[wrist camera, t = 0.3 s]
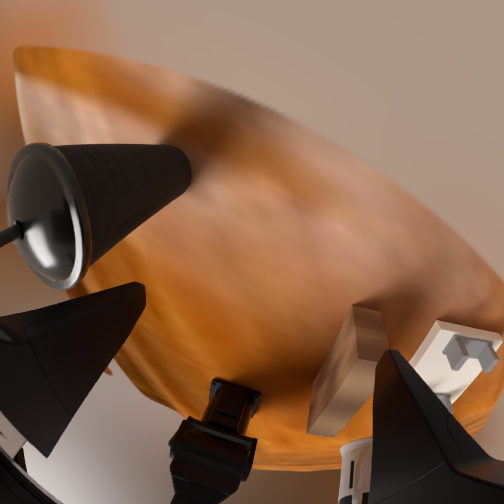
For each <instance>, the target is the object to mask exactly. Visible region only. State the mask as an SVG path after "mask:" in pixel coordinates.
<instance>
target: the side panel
mask: <svg viewBox="0 0 504 504" xmlns="http://www.w3.org/2000/svg"><path fill="white" fill-rule="evenodd" d="M502 342H503V340H502V338H501V336H500V335H499V333H496V332H491V331H486V330H481V329H476V328H471V327H467V326H462V325H457V324H453V323H448V322H443V321H439V320H436V321H435V323H434V325H433V326H432V328H431V329H430V331H429V333H428V334H427V336H426V337H425V339H424V341H423V342H422V344H421V345H420V347H419V348H418V350H417V351H416V353H415V354H414V356H413V357H412V358H411V360H410V361H409V364H410V365H411V366H412V367H413V368H414V369H415V371H416V372H417V373H418V374H419V375H420V376H421V378H422V379H423V380H424V381H425V382H426V383H427V385H428V386H429V387H430V388H431V389H432V391H433V392H434V393H435V394H436V395H437V397H438V398H439V399H440V400H441V401H442V403H443V404H444V405H445V406H446V407H447V409H448V410H449V412H451V414H452V413H453V408H452V404H453V402H454V401H455V400H456V399H457V398H458V397H459V396H460V395H461V394H462V393H463V392H464V391H465V389H466V388H467V387H468V386H469V385H470V384H471V383H472V381H473V380H474V379H475V378H476V377H477V375H478V374H479V373H480V372H481V370H482V369H483V372H484V373H490V371H491V370H492V369H493V368H494V366H495V365H496V364H497V362H498V361H499V360H500V359H499V357H498V356H497V354H496V351H497V349H498V348H499V346H500V345H501V343H502Z"/></svg>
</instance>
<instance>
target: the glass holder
mask: <svg viewBox="0 0 504 504" xmlns="http://www.w3.org/2000/svg"><path fill="white" fill-rule="evenodd" d="M372 442H373V437H370V438H363V439H358V440H355V441H352V442H349V443H347V444H345V445H344V446H343V447H341V449H340V453H341V455H342V469H341V481H340V491H339V499H338V504H368V500H369V491H370V479H371V465H372Z"/></svg>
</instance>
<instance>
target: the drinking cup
mask: <svg viewBox="0 0 504 504" xmlns="http://www.w3.org/2000/svg"><path fill="white" fill-rule="evenodd" d="M190 178H191V168H190V164H189V161H188V159H187V157H186V156H185V154H184V153H183V152H182V151H181V150H179V149H178V148H176V147H174V146H169V145H150V144H82V145H63V146H52V145H50V144H47V143H43V142H36V143H31V144H28V145H26V146H25V147H23V148H22V149H21V150H20V151H19V152H18V153H17V155H16V156H15V158H14V160H13V162H12V164H11V167H10V170H9V174H8V180H7V189H6V205H7V206H6V207H7V208H6V209H7V219H8V224H9V227H8V228H6V229H5V230H2V231H1V232H0V248H1V247H3V246H5V245H7V244H9V243H10V242H12V241H14V243H15V245H16V247H17V249H18V251H19V253H20V255H21V256H22V257H23V259H24V260H25V262H26V263H27V264H28V266H29V267H30V269H31V270H32V271H33V272H34V273H35V275H36V276H37V277H38V278H40V279H41V280H42V281H43V282H44V283H46V284H47V285H49V286H50V287H52V288H55V289H58V290H68V289H71V288H73V287H74V286H76V285H77V284H79V283H80V282H81V281H82V279H83V278H84V277H85V275H86V273H87V271H88V268H89V267H90V266H91V265H92V264H94V263H95V262H96V261H97V260H98V259H99V258H100V257H102V256H103V255H104V254H105V253H106V252H108V251H109V250H110V249H111V248H112V247H114V246H115V245H116V244H117V243H118V242H120V241H121V240H122V239H123V238H125V237H126V236H127V235H128V234H130V233H131V232H132V231H133V230H135V229H136V228H137V227H138V226H140V225H141V224H142V223H144V222H145V221H146V220H148V219H149V218H150V217H151V216H153V215H154V214H155V213H157V212H158V211H159V210H161V209H162V208H164V207H165V206H166V205H168V204H169V203H170V202H172V201H173V200H175V199H176V198H177V197H179V196H180V195H181V194H183V193H184V191H185V190H186V189H187V187H188V185H189V182H190Z"/></svg>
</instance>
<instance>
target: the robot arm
mask: <svg viewBox="0 0 504 504" xmlns="http://www.w3.org/2000/svg"><path fill="white" fill-rule="evenodd" d="M145 306H146V290H145V286H144V284H141V283H139V282H131V283H127V284H124V285H120V286H117V287H113V288H110V289H106V290H103V291H99V292H96V293H92V294H89V295H85V296H82V297H78V298H75V299H71V300H68V301H64V302H61V303H58V304H57V305H56V304H54V305H50V306H47V307H43V308H40V309H36V310H31V311H27V312H22V313H17V314H12V315H7V316H2V317H0V504H63V503H62V502H60V501H59V500H58V499H56V498H55V497H54V496H53V495H51V494H50V493H49V492H48V491H46V490H45V489H44V488H43V487H42V486H40V485H39V484H38V483H37V482H36V481H35V480H34V479H33V478H31V477H30V476H29V475H28V474H27V469H26V464H25V458H24V452H23V448H22V446H23V445H24V444H25V442H26V441H28V442H29V443H30V444H31V445H32V446H33V447H34V448H35V449H36V450H38V451H39V452H40V453H41V454H42V455H43V456H45V457H46V458H47V457H48V456H49V455H50V453H51V452H52V450H53V448H54V447H55V445H56V443H57V442H58V440H59V439H60V437H61V435H62V434H63V432H64V431H65V429H66V428H67V426H68V424H69V423H70V421H71V420H72V418H73V416H74V415H75V413H76V412H77V410H78V409H79V407H80V406H81V404H82V403H83V401H84V399H85V398H86V397H87V395H88V394H89V392H90V391H91V389H92V388H93V386H94V385H95V383H96V382H97V380H98V379H99V377H100V376H101V375H102V373H103V372H104V370H105V369H106V367H107V366H108V365H109V363H110V362H111V360H112V359H113V358H114V356H115V355H116V353H117V352H118V351H119V349H120V348H121V346H122V345H123V344H124V342H125V341H126V339H127V338H128V336H129V335H130V333H131V331H132V329H133V328H134V326H135V324H136V322H137V321H138V319H139V317H140V316H141V314H142V312H143V310H144V309H145ZM260 398H261V393H259V392H256V391H252V390H249V389H245V388H242V387H238V386H235V385H232V384H228V383H225V382H222V381H219V380H216V379H213V380H212V382H211V387H210V395H209V403H208V406H207V408H206V410H205V412H204V415H203V417H202V419H201V421H199V420H197V419H194V418H193V417H191V416H189V417H188V418H187V420H183V421H182V423H181V425H180V427H179V429H178V431H177V432H176V433H175V435H174V436H173V437H172V438H171V440H170V441H169V444H168V445H169V447H170V456H169V457H170V458H172V459H173V460H172V462H171V464H170V472H171V477H172V482H173V486H174V492H175V495H174V497H173V499H172V501H171V504H219V503H221V502H222V501H224V500H225V499H226V498H228V497H229V496H230V495H232V494H233V493H234V492H236V491H237V489H238V487H239V484H240V482H242V483H244V482H245V481H246V480H247V478H248V476H249V473H250V470H251V468H252V464H253V460H254V455H255V450H256V445H257V440H258V439H256V438H250V437H247V436H245V434H246V431H247V428H248V425H249V421H250V418H253V416H254V413H255V411H256V408H257V406H258V403H259V401H260ZM368 504H504V461H501V460H497V459H494V458H492V457H491V456H489V455H488V454H487V453H486V452H485V451H484V450H483V449H482V448H481V446H480V445H479V444H478V443H477V442H476V441H475V440H474V439H473V438H472V437H471V436H470V435H469V434H468V432H467V431H466V430H465V429H464V428H463V427H462V426H461V425H460V423H459V422H458V421H457V420H456V419H455V417H454V416H453V415H452V414H451V412H449V410H448V409H447V407H446V406H445V405H444V404H443V403H442V401H441V400H440V399H439V398H438V397H437V395H436V394H435V393H434V392H433V391H432V389H431V388H430V387H429V386H428V385H427V383H426V382H425V381H424V380H423V379H422V378H421V376H420V375H419V374H418V373H417V372H416V371H415V369H414V368H413V367H412V366H411V365H410V364H409V363H408V361H407V360H406V359H405V358H404V357H403V356H402V355H401V353H400V352H399V351H398V350H395V349H386V350H385V352H384V354H383V355H382V357H381V358H380V360H379V362H378V363H377V365H376V369H375V382H374V395H373V442H372V465H371V479H370V491H369V500H368Z"/></svg>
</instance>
